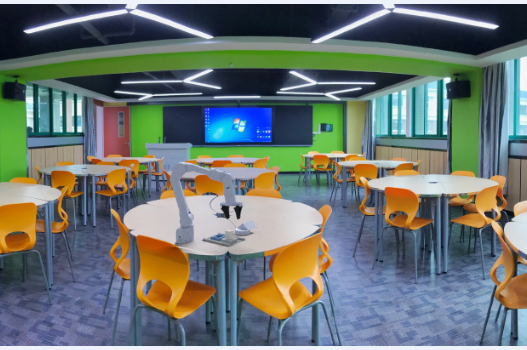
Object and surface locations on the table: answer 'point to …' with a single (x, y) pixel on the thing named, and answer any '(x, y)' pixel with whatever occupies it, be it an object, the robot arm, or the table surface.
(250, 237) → the table surface
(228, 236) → the plug
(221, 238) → the grey tray
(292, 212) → the table surface
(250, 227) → the wedge on round base
